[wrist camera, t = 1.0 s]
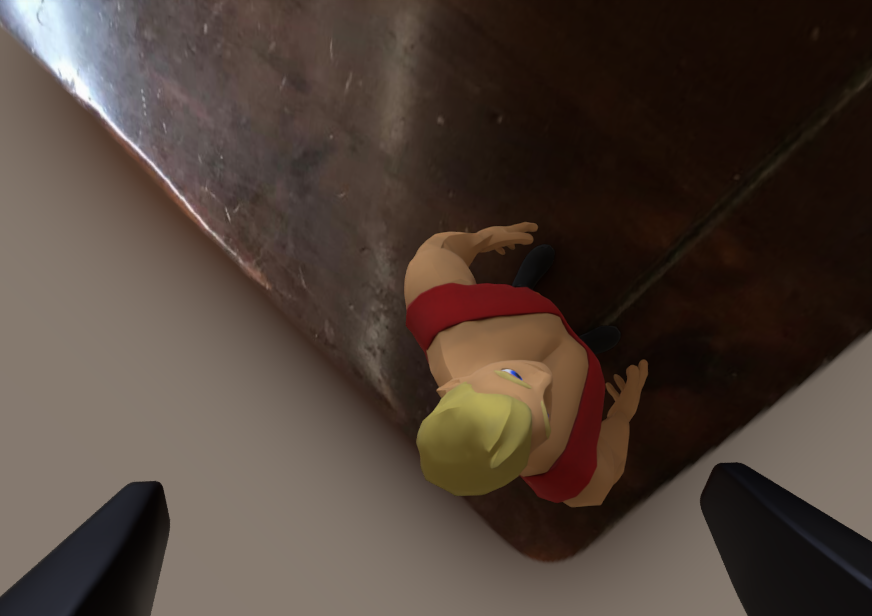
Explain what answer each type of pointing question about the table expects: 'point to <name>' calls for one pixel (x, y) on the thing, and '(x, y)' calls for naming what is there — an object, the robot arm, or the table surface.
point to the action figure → (513, 378)
